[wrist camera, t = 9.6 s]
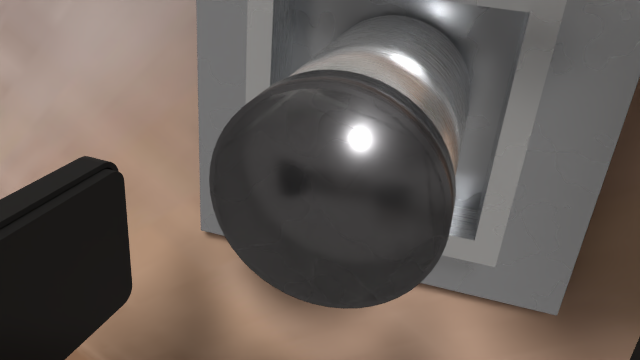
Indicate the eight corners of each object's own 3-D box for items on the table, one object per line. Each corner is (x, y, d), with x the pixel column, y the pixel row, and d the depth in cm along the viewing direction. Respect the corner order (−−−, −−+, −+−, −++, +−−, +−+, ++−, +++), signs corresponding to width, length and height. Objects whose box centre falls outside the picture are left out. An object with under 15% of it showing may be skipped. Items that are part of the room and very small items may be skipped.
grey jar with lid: (457, 179, 19) (427, 333, 12) (311, 150, 21) (210, 277, 14) (490, 24, 17) (476, 108, 10) (322, 1, 18) (207, 63, 11)
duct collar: (698, -127, 15) (738, -132, 12) (555, 298, 21) (561, 353, 19) (208, -163, 18) (157, -173, 15) (211, 218, 24) (176, 256, 22)
